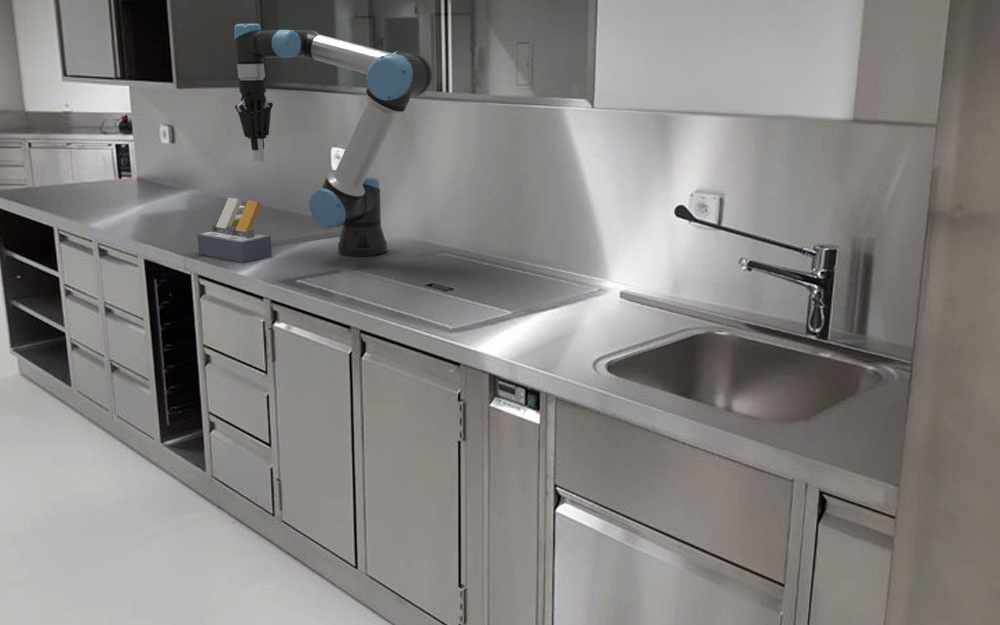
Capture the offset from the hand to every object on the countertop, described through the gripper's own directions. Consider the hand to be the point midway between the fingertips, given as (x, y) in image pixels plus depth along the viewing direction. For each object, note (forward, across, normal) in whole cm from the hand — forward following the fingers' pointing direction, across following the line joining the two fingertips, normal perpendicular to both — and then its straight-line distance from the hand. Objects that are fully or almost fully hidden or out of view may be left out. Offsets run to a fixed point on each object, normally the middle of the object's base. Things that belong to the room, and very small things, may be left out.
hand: (259, 160), depth 275 cm
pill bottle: (+28, -6, -18) cm, 34 cm away
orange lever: (+20, +8, -2) cm, 22 cm away
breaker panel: (+28, +7, -6) cm, 29 cm away
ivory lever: (+20, +7, -11) cm, 24 cm away
